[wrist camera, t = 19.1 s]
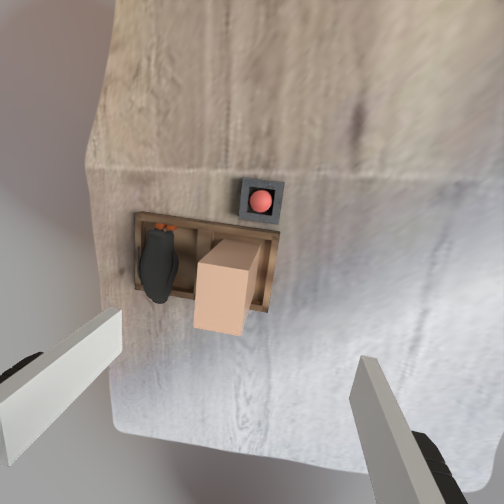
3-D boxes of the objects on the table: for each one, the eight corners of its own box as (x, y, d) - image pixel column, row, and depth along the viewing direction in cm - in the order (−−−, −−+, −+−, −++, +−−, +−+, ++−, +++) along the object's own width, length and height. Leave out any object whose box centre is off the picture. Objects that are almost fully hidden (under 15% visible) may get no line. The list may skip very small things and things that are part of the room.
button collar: (245, 177, 48) (242, 177, 45) (284, 182, 47) (284, 182, 44) (241, 216, 50) (238, 218, 47) (279, 221, 49) (278, 224, 46)
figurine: (156, 221, 52) (148, 296, 54) (127, 219, 42) (117, 311, 44) (193, 227, 52) (183, 302, 53) (172, 227, 42) (160, 319, 43)
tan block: (224, 238, 51) (197, 262, 36) (260, 244, 50) (248, 270, 36) (219, 287, 53) (193, 327, 39) (254, 293, 53) (240, 336, 38)
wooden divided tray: (142, 211, 52) (134, 213, 50) (280, 231, 50) (279, 234, 47) (141, 284, 56) (134, 289, 54) (268, 306, 54) (267, 312, 51)
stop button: (253, 188, 48) (251, 189, 45) (273, 191, 47) (272, 191, 44) (251, 208, 49) (248, 210, 46) (270, 211, 48) (269, 213, 45)
